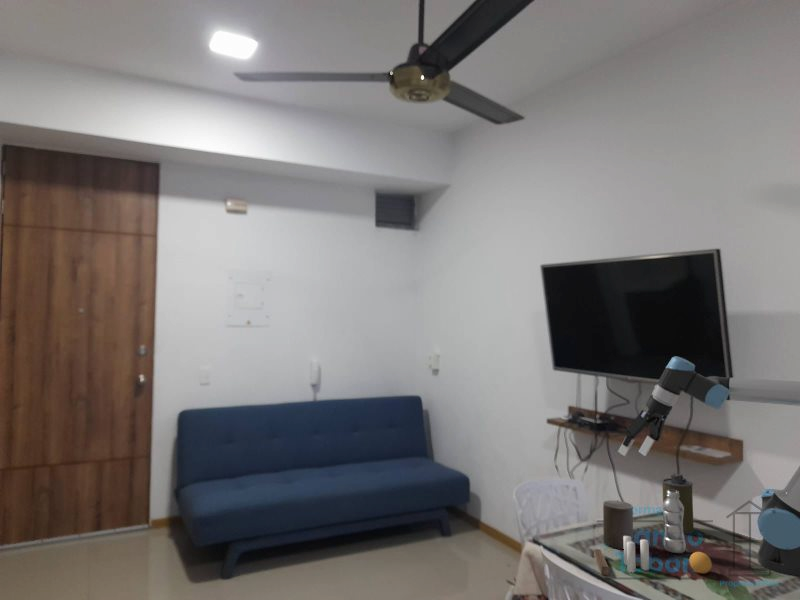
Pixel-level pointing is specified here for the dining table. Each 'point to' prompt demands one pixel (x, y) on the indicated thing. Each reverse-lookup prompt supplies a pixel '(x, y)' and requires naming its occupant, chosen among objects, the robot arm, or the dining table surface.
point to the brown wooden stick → (601, 561)
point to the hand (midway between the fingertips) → (632, 454)
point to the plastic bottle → (673, 523)
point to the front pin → (644, 554)
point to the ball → (700, 562)
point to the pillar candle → (617, 522)
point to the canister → (681, 498)
